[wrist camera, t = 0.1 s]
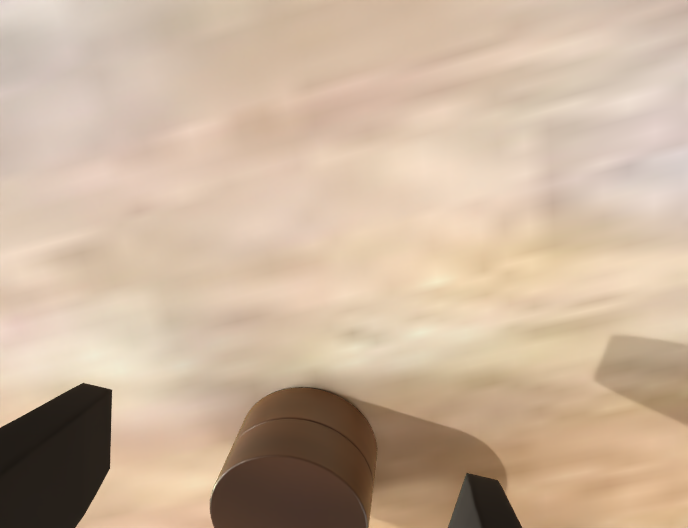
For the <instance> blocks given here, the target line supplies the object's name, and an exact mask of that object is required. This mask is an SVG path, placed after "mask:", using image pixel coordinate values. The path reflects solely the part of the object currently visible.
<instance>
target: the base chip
mask: <svg viewBox="0 0 688 528" xmlns="http://www.w3.org/2000/svg"><path fill="white" fill-rule="evenodd" d="M280 419H298V420H305V421H311V422H314V423H317V424H321V425H323V426H325V427H328V428H330V429H332V430H334V431H336V432H338V433H339V434H341V435H342V436H343V437H345V438H346V439H347V440H349V441H350V442H351V443H352V444H353V445H354V446H355V447H356V448H357V449H358V450H359V452H360V453H361V454H362V456H363V457H364V459H365V461H366V463H367V465H368V467H369V469H370V472H371V475H372V481H373V485H374V476H375V468H376V459H377V444H376V439H375V436H374V433H373V431H372V429H371V426H370V425H369V423H368V422H367V420H366V419H365V417H364V416H363V415H362V414H361V413H360V411H358V410H357V409H356V408H355V407H354V406H353V405H351V404H350V403H349V402H347V401H346V400H344V399H342V398H340V397H339V396H337V395H334V394H332V393H329V392H326V391H323V390H319V389H314V388H303V387H299V388H289V389H283V390H280V391H276V392H274V393H272V394H269V395H267V396H266V397H264V398H263V399H261V400H260V401H259V402H257V403H256V404H255V405H254V406H253V407H252V408H251V410H250V411H249V412H248V414H247V416H246V418H245V420H244V422H243V424H242V426H241V429H240V431H239V433H238V435H237V437H236V439H235V442H236V441H237V440H238V439H239V438H240V437H241V436H242V435H243V434H244V433H246V432H247V431H249V430H250V429H252V428H253V427H255V426H258V425H260V424H262V423H266V422H269V421H274V420H280ZM235 442H234V444H235ZM234 444H233V445H234ZM232 447H233V446H232ZM231 449H232V448H231Z"/></svg>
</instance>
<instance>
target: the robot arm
mask: <svg viewBox="0 0 688 528" xmlns="http://www.w3.org/2000/svg"><path fill="white" fill-rule="evenodd" d="M111 408H112V390H111V389H107V388H102V387H98V386H94V385H90V384H85V383H82V384H80V385H78V386H76V387H74V388H72V389H71V390H69V391H67V392H65V393H63V394H61V395H60V396H58V397H56V398H54V399H52V400H51V401H49V402H47V403H45V404H43V405H42V406H40V407H38V408H36V409H34V410H32V411H31V412H29V413H27V414H25V415H23V416H22V417H20V418H18V419H16V420H14V421H12V422H10V423H8V424H7V425H5V426H3V427H1V428H0V528H75V527H76V526H77V524H78V523H79V522H80V520H81V519H82V517H83V516H84V514H85V513H86V511H87V509H88V507H89V506H90V504H91V502H92V500H93V499H94V497H95V495H96V493H97V491H98V490H99V488H100V486H101V484H102V482H103V480H104V478H105V476H106V475H107V473H108V471H109V469H110V446H111ZM448 528H522V526H521V524H520V522H519V520H518V519H517V517H516V515H515V513H514V511H513V509H512V507H511V505H510V503H509V501H508V499H507V496H506V494H505V492H504V490H503V488H502V486H501V485H500V483H499V482H498V480H494V479H490V478H486V477H481V476H477V475H473V474H469V473H466V476H465V479H464V482H463V485H462V488H461V491H460V494H459V497H458V500H457V503H456V506H455V508H454V511H453V514H452V517H451V520H450V523H449V526H448Z"/></svg>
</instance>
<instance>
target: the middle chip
mask: <svg viewBox="0 0 688 528" xmlns="http://www.w3.org/2000/svg"><path fill="white" fill-rule="evenodd" d="M372 493H373V481H372V475H371V472H370V469H369V467H368V465H367V463H366V461H365V459H364V457H363V456H362V454H361V453H360V452H359V450H358V449H357V448H356V447H355V446H354V445H353V444H352V443H351V442H350V441H349V440H347V439H346V438H345V437H343V436H342V435H341V434H339V433H338V432H336V431H334V430H332V429H330V428H328V427H325V426H323V425H321V424H317V423H314V422H311V421H305V420H298V419H280V420H274V421H269V422H266V423H262V424H260V425H258V426H255V427H253V428H252V429H250V430H249V431H247V432H246V433H244V434H243V435H242V436H241V437H240V438H239V439H238V440H237V441H236V442H235V444H234V445H233V447H232V449H231V450H230V453H229V455H228V457H227V459H226V461H225V464H224V466H223V468H222V470H221V472H220V474H219V477H218V479H217V481H216V483H215V485H214V488H213V490H212V493H211V498H210V514H211V519H212V523H213V526H214V528H368V527H369V519H370V510H371V502H372Z"/></svg>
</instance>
